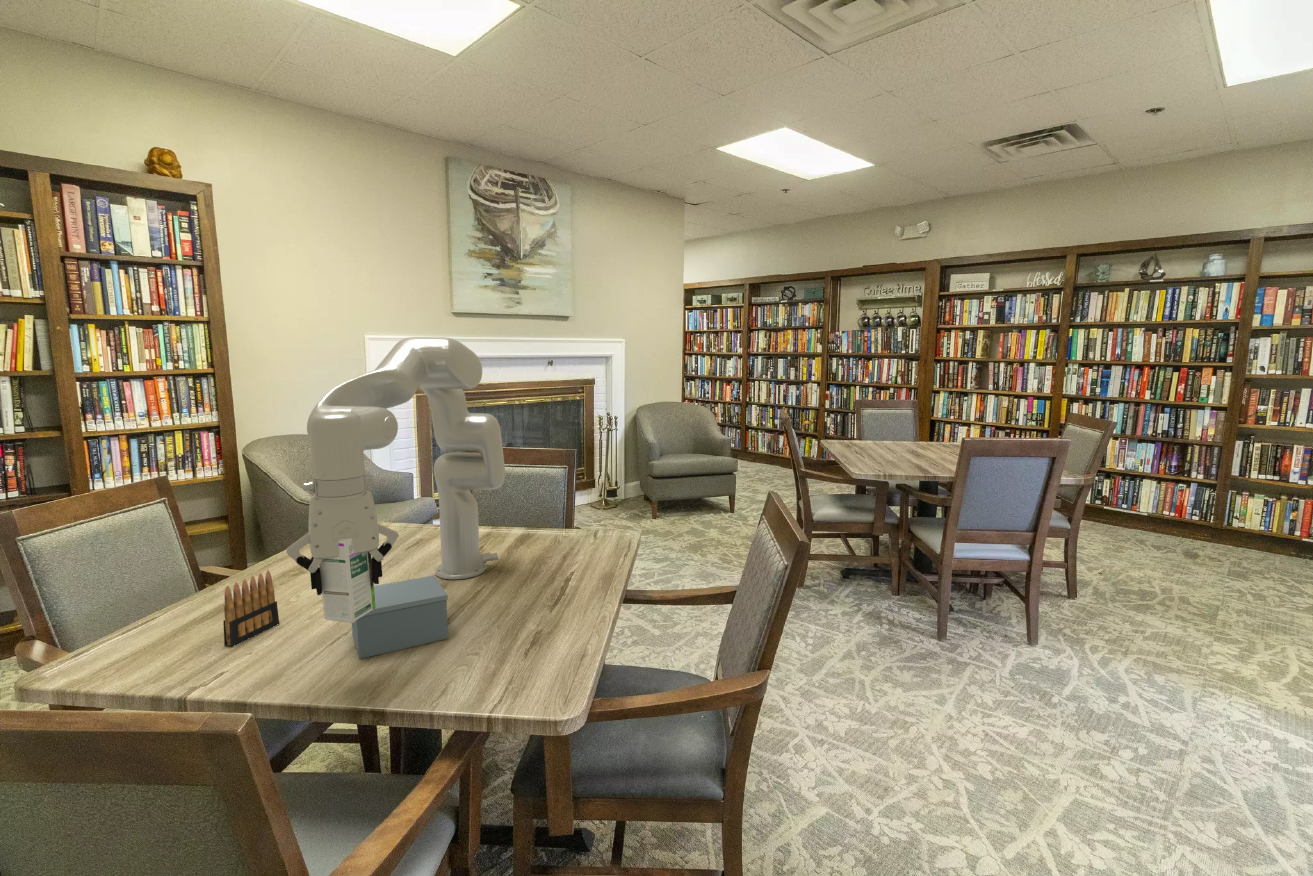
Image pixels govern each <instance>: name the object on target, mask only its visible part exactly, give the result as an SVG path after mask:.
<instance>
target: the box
mask: <svg viewBox="0 0 1313 876" xmlns="http://www.w3.org/2000/svg"><path fill="white" fill-rule="evenodd" d="M447 602H448V601H447V600H443V601H438V602H433V603H428V604H423V605H418V606H413V607H408V608H403V609H398V610H393V611H388V612H383V613H378V614H373V615H368V616H363V617H361V618H359V619H358V620H356V622H354V623H351V633H352V638H353V641H354V644H355V647H356V648H355V649H356V652H357V655H358V659H359V660H361V659H360V658H362V659H366V658H370V656H371V657H374V656H378V655H383V654H387V653H392V652H396V651H400V650H405V649H408V648H409V649H410V648H413V647H417V646H422V645H425V644H429V643H433V642H438V641H443V640H449V634H448V633H449V631H448V629H449V628H448V605H447V604H448V603H447Z"/></svg>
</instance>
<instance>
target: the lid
mask: <svg viewBox="0 0 1313 876" xmlns="http://www.w3.org/2000/svg"><path fill="white" fill-rule="evenodd" d="M374 594H375V606H376V608H375V609H374V610H372V611H370V612H369V613H367V614H365V615H364V616H368V615H373V614H378V613H383V612H388V611H393V610H398V609H403V608H408V607H413V606H418V605H423V604H428V603H433V602H438V601H443V600H448V599H449V598H448V597H449V596H448V593H447V592H446V590H445V588H443V586H442V585H441V584H440V582H439V581H438V579H437V578H436V576H435V575H427V576H422V577H421V576H420V577H416V578H411V579H406V580H399V581H394V582H388V583H383V584H375V585H374ZM362 617H363V616H362Z"/></svg>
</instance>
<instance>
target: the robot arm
mask: <svg viewBox="0 0 1313 876" xmlns="http://www.w3.org/2000/svg"><path fill="white" fill-rule="evenodd" d="M482 377H483V367H482V363H481V360H480V358H479V357H478V355H477V354H476V353H475V352H474V351H473V350H471V349H470V348H469V347H468V346H466V345H465V344H463V343H462V342H460V341H458V340H456V339H454V338H450V337H440V336H439V337H437V336H436V337H434V336H431V337H428V336H427V337H426V336H424V337H423V336H421V337H420V336H413V337H405V338H403V339H400V340H399V341H398V342H397V343H396V344H395V345H394V346H393V347H392V349H390V351H389V352H388V353H387V354H386V356H385V357H384V358H383V360H381V361H380V363H379V364H378V365H377V366H376V368H374V369H373V370H370V371H368V372H366V373H363V374H361V375H358V376H357V377H354V378H352V379H350V380H347V381H345V382H342V383H341V384H338V385H336V386H335V387H333V388H332V389H331V390H329V391H327V393H326V394H324V396H323V397H322V398H321V399H320V400H319V401H318V402H317V403H316V404H315V406H314V408H313V409H312V410H311V412H310V415H309V416H308V419H307V422H306V431H307V436H308V437H309V439H310V448H311V449H310V450H311V451H310V452H311V461H312V474H313V475H312V476H313V479H311V481H309V482H304V483H303V489H304V490H303V491H304V492H312V494H314V495H312V496H311V497H310V499H309V504H308V505H309V507H308V532H307V533H306V534H304V535H302V536H301V537H300V538H299V539H296V540H295V541H294V542H293V543H292V544H290V545H289V546H288V547H286V549H285V550H286V555H287V556H289V557H290V558H291V559H292V560H293V561H294V562H296V564H297V565H298V566H300V567H302V568H303V569H305V570H306V571H308V573H310V585H311V586H310V587H311V590H316V595H317V596H322V585H321V573H320V567H319V565H320V564H321V562H322V560H323V559H329V558H336V557H338V556H339V542H338V541H339V539H341V538H352V539H353V540H352V542H353V548H354V553H355V554H361V553H366V552H369V553H370V554H371V558H372V571H373V583H374V584H375V585H380V578H382V577H383V565H382V564H383V563H382V561H383V560H384V557H385V556H387V554H388V553H389V552H390V551H391V550H392V547H393V545H394V544H395V543H396V541H397V540H398V538H399V536H400V535H399V533H398V531H396V530H393V529H391V528H389V527H387V526H385V525H382V524H380V523H378V517H377V509H376V506H375V505H376V504H375V500H374V495H373V493H372V491H370V490H368V489H367V485H366V471H365V470H366V469H365V468H366V467H365V453H364V451H369V450H370V451H371V450H380V449H383V448H386V447H388V446H389V445H391V444H392V443H393V442H394V440H395V439H396V437H397V435H398V431H399V425H398V424H399V423H398V419H397V418H396V416H395V415H394V413H393V412H392V411H391V410H389V409H391V408H394V407H398V406H400V405H403V404H405V403H407V402H409V401H410V400H411V399H412V398H413V397H414V395H415V394H416V393H417V391H418V389H420V390H421V391H423V393H424V394H425V396H426V397H427V400H428V403H429V409H430V415H431V423H432V428H433V435H434V439H435V442H436V445H437V446H438V447H439V448H440V449H442V450H445V451H453V452H447V453H443V454H441V455H439V456H438V457H437V459H436V460H435V462H434V464H433V465H434V466H433V474H434V476H433V477H434V481H435V484H436V488H437V494H438V495H437V496H438V503H439V504H438V507H439V533H440V555H441V556H440V557H441V559H440V560H441V564H440V565H438V566H437V567H436V568H435V575H436V576H437V577H438V578H440V579H445V580H464V579H469V578H474V577H477V576H479V575H481V574H483V573H484V572H486V570H487V566H486V564H487V562H493V561H494V562H495V561H498V559H499V558H498V557H499V555H498V552H494V553H491V552H490V551H487V552H483V553H482V552H481V550H480V535H479V533H480V532H479V529H480V527H479V507H478V506H479V505H478V501H477V500H476V497H474V495H473V493H472V492H471V490H472V491H473V490H475V491H491V490H494V491H495V490H498V489H499V488H501V487H502V486H503V484H504V482H505V479H506V478H505V476H506V467H505V465H506V464H505V459H504V458H505V457H504V450H503V449H504V447H503V439H502V431H501V426H500V422H499V421H498V419H497V418H496V416H494V415H492V414H490V413H482V412H481V413H480V412H479V413H475V412H472V413H471V412H469V410H468V406H467V399H466V398H467V397H466V394H465V392H464V390H471V389H474V388H476V387H478V386H479V384H480V383H481V380H482ZM379 534H380V535H382V536H384V537H386V540H385V541H384V542H383V543H382V544H381V545H380V535H379ZM308 545H309V549H310V550H309V551H310V554H311V557H310V558H309V557H307V556H305V555H304V554H302V553H301V552H300V551H301V550H302V549H303V548H304V547H306V546H308ZM379 545H380V546H379Z"/></svg>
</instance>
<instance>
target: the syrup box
mask: <svg viewBox="0 0 1313 876" xmlns="http://www.w3.org/2000/svg"><path fill="white" fill-rule="evenodd" d="M352 540H353V539H352V538H341V539H339V541H338V542H339V556H338V557H336V558H329V559H323V560H322V562H321V564H320V565H319V567H320V573H321V585H322V594H321V596H322V607H323V615H324V616H323V617H324V620H327V621H331V622H332V621H333V622H341V623H349V624H350V623H351V624H352V623H354V622H356V620H358V619H359V618H361V617H362V616H364V615H365V614H367V613H369V612H370V611H372V610H374V609H375V608H376V606H375V594H374V586H375V585H374V582H373V571H372V555H371V554H370V553H369V552H366V553H361V554H355V553H354V548H353V542H352Z"/></svg>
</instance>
